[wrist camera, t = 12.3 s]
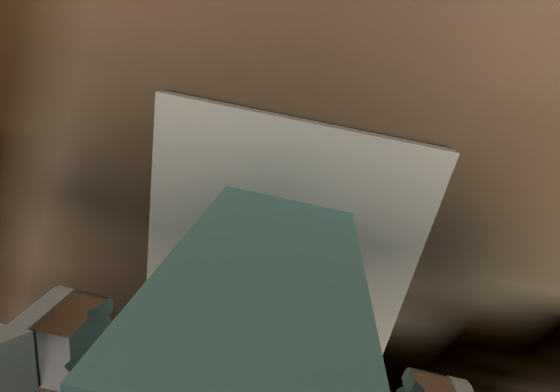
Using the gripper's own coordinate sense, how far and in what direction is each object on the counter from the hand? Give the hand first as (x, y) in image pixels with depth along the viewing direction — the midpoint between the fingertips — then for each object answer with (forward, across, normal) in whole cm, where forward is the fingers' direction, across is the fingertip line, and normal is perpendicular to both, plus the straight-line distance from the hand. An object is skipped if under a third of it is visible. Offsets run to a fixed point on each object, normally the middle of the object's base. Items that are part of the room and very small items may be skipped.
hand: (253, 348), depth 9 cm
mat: (+6, 0, 0) cm, 6 cm away
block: (+5, 0, 0) cm, 5 cm away
